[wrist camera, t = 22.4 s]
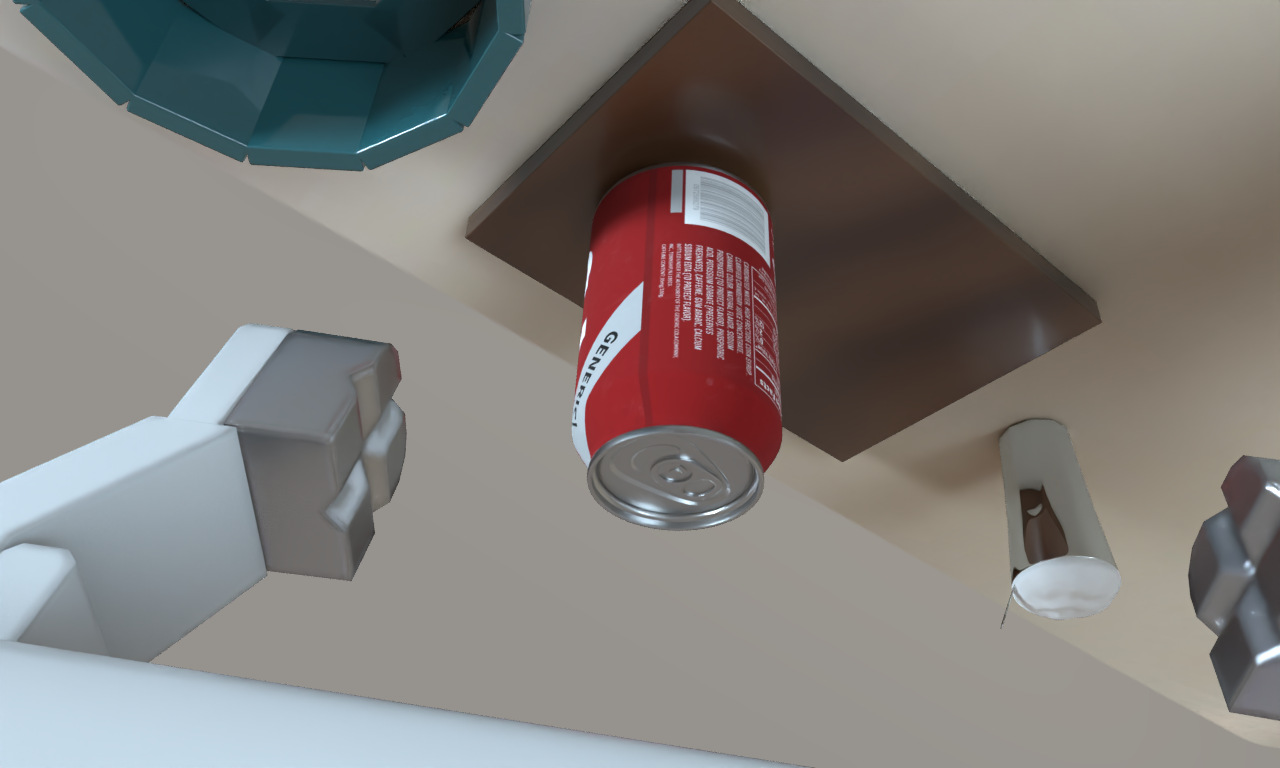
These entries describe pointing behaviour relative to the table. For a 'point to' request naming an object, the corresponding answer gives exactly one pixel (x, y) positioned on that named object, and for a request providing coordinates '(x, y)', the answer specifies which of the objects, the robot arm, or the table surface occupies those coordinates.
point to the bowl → (293, 70)
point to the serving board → (803, 227)
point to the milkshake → (1053, 526)
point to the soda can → (679, 349)
